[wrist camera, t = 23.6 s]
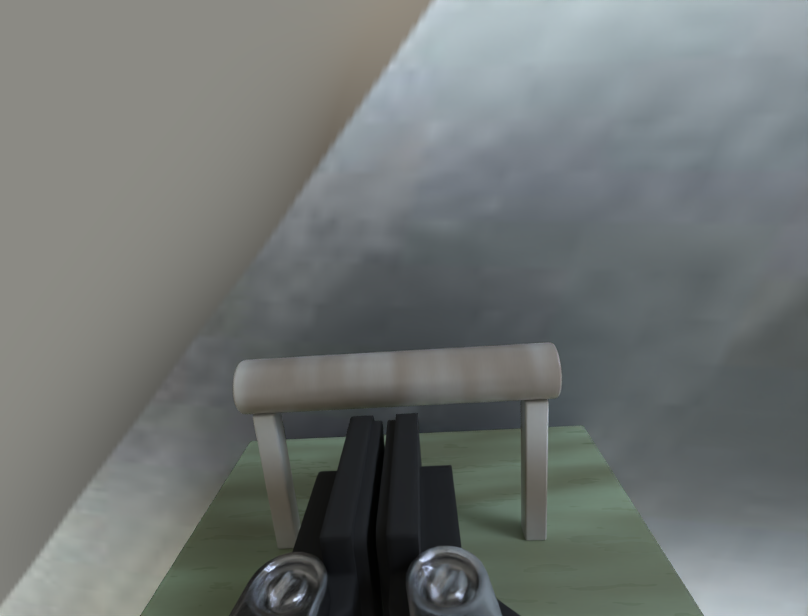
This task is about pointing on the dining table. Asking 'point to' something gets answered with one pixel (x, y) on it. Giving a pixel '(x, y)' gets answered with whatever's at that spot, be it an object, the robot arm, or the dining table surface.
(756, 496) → the dining table surface
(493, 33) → the dining table surface
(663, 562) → the drawer
